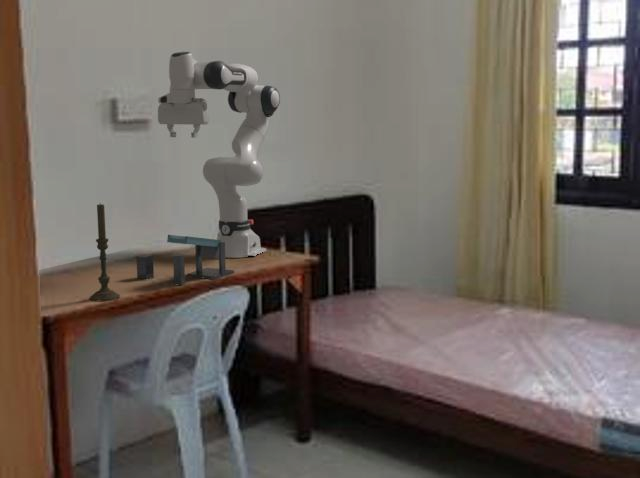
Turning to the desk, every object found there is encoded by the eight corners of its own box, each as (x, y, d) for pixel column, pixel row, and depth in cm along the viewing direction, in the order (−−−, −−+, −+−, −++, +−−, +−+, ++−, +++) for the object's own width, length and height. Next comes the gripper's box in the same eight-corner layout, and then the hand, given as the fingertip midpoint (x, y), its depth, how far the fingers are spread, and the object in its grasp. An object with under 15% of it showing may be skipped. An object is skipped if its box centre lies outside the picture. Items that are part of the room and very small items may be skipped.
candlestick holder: (114, 293, 260) (110, 200, 255) (124, 298, 252) (119, 202, 247) (86, 297, 255) (81, 202, 250) (95, 302, 247) (90, 204, 243)
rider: (144, 276, 285) (143, 254, 284) (153, 277, 283) (152, 255, 282) (137, 278, 282) (136, 256, 281) (146, 279, 280) (145, 257, 279)
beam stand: (207, 270, 296) (206, 237, 294) (234, 273, 290) (233, 240, 289) (163, 283, 274) (162, 248, 272) (191, 286, 269) (190, 251, 267)
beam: (205, 257, 292) (207, 239, 292) (225, 259, 288) (227, 240, 288) (165, 254, 271) (167, 234, 271) (186, 256, 267) (188, 236, 267)
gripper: (211, 98, 287) (212, 137, 289) (165, 98, 296) (166, 136, 299) (201, 97, 282) (202, 138, 284) (154, 98, 291) (155, 137, 293)
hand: (183, 137), depth 291 cm, fingers open, 8 cm apart
